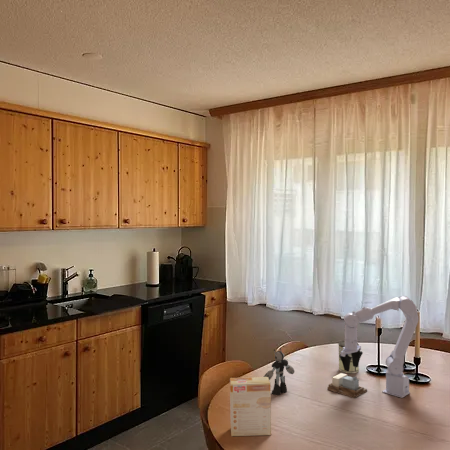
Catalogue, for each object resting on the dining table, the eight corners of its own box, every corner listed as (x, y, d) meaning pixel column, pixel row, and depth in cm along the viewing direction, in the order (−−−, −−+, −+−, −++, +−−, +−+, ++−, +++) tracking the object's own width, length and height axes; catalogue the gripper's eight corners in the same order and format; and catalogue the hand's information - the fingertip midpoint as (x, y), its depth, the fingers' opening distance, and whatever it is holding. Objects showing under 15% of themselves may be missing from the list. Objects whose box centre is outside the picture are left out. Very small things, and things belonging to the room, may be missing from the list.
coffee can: (337, 366, 241) (336, 340, 240) (356, 367, 240) (356, 340, 239) (340, 373, 230) (340, 346, 230) (360, 373, 229) (360, 346, 229)
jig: (367, 391, 206) (367, 386, 206) (354, 398, 198) (354, 393, 198) (340, 383, 216) (340, 378, 216) (327, 389, 209) (327, 384, 209)
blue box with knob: (358, 390, 205) (358, 376, 205) (354, 392, 202) (354, 378, 202) (347, 386, 209) (347, 373, 209) (342, 388, 207) (342, 375, 207)
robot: (267, 399, 198) (267, 354, 198) (260, 396, 202) (259, 352, 201) (298, 388, 210) (297, 346, 210) (290, 385, 214) (290, 344, 214)
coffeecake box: (269, 426, 172) (268, 376, 172) (271, 435, 165) (271, 383, 165) (230, 427, 172) (229, 377, 171) (231, 436, 164) (230, 384, 164)
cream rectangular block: (347, 384, 212) (347, 374, 212) (338, 388, 207) (338, 379, 207) (341, 382, 215) (341, 372, 214) (332, 387, 209) (332, 377, 209)
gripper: (351, 335, 215) (351, 363, 216) (334, 340, 206) (335, 370, 206) (365, 337, 210) (365, 366, 210) (348, 343, 200) (348, 374, 201)
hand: (351, 368), depth 208 cm, fingers open, 7 cm apart
